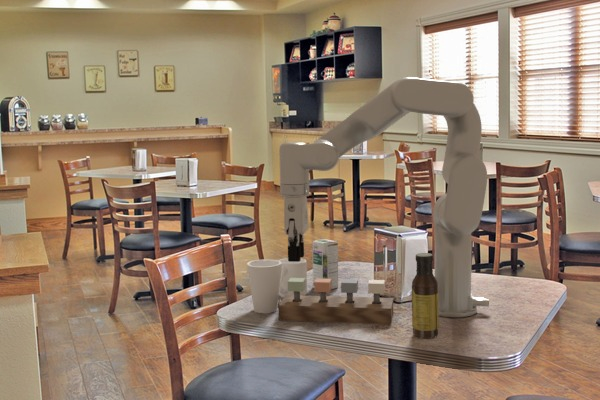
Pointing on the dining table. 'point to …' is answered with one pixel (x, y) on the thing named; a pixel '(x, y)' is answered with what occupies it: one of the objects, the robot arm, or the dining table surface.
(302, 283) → the sage key
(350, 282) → the slate-grey key
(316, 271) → the syrup box
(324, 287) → the terracotta key
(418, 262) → the sauce bottle
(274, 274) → the foam cup
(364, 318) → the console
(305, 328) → the dining table surface
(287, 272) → the mug
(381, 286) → the cream rectangular block
